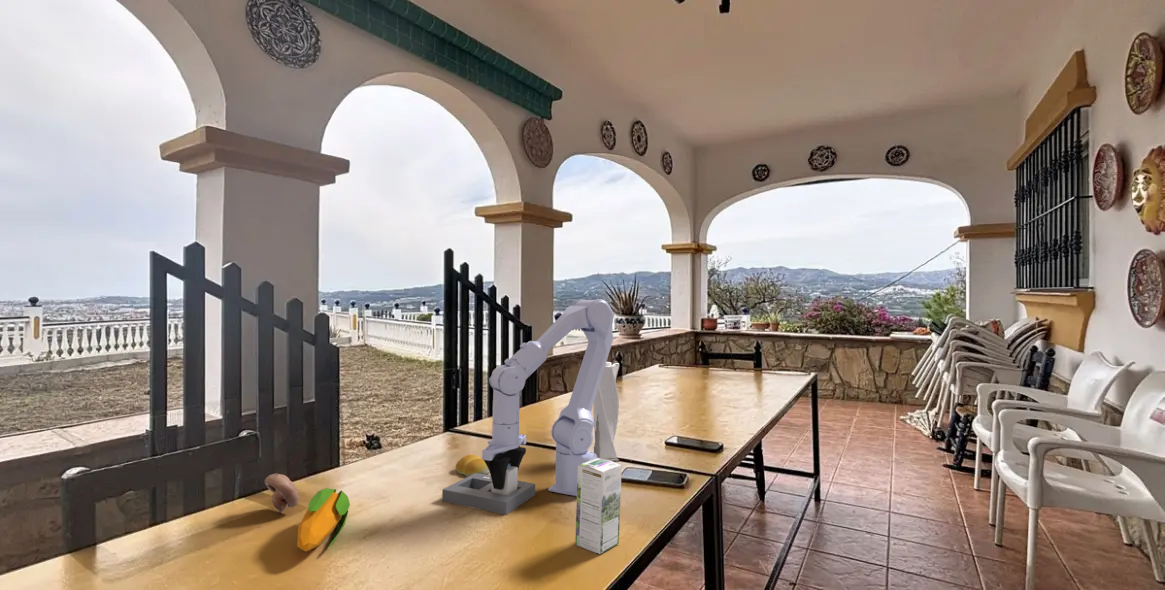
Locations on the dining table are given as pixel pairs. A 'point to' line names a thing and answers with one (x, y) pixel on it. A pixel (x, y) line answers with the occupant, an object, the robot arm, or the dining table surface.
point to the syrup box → (598, 505)
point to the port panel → (486, 494)
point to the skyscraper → (606, 413)
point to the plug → (508, 481)
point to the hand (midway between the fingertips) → (504, 485)
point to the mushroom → (282, 491)
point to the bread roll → (471, 465)
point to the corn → (322, 518)
